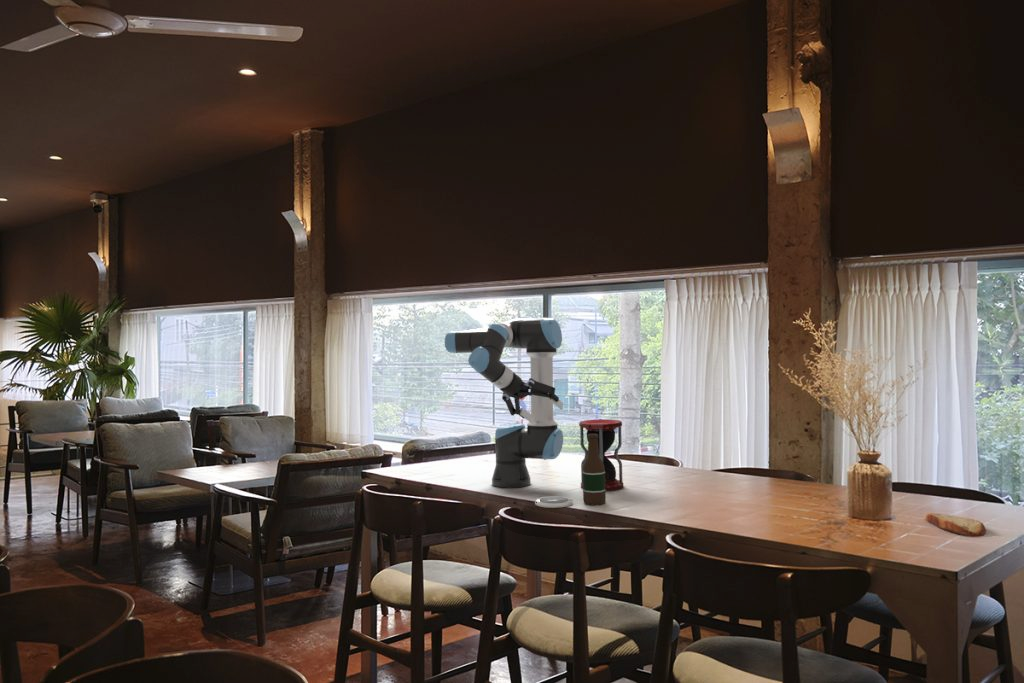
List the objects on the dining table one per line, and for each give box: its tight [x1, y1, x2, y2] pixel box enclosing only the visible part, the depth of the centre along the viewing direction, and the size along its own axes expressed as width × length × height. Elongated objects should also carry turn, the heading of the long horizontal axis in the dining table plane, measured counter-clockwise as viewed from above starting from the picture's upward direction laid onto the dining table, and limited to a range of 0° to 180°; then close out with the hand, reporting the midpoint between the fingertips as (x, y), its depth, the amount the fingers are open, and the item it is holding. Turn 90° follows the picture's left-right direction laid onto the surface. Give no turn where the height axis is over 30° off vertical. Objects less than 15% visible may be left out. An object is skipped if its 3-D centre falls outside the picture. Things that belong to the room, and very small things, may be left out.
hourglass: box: [578, 418, 624, 492], centre depth 312 cm, size 16×16×25 cm
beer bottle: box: [582, 434, 607, 506], centre depth 284 cm, size 8×8×24 cm
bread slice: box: [924, 512, 987, 538], centre depth 240 cm, size 18×18×4 cm
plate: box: [534, 495, 574, 509], centre depth 285 cm, size 13×13×1 cm
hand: (547, 413), depth 290 cm, fingers open, 13 cm apart
